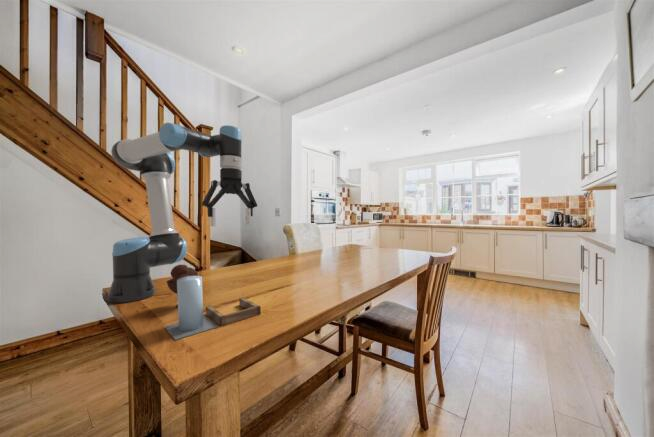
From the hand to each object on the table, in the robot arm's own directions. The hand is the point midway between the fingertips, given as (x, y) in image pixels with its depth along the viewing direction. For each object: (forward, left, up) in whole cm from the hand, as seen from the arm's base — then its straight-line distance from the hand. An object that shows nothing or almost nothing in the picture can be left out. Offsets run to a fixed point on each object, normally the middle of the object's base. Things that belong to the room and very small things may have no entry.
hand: (231, 225), depth 95 cm
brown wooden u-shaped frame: (+12, -5, -29) cm, 32 cm away
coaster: (+13, -18, -29) cm, 36 cm away
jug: (+12, -18, -28) cm, 36 cm away
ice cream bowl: (-8, -14, -29) cm, 33 cm away
